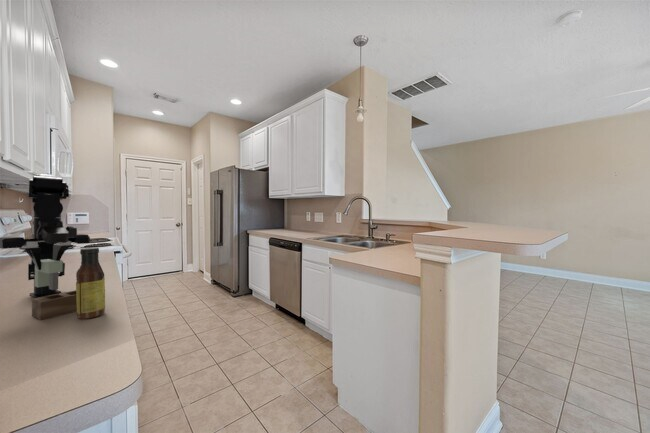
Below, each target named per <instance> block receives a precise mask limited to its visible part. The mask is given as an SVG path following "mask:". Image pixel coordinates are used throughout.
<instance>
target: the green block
mask: <svg viewBox="0 0 650 433" xmlns="http://www.w3.org/2000/svg"><path fill="white" fill-rule="evenodd" d="M63 263H64V261H63V262H61V261H56V260H51V259H44V260H41V270H38V269H37V268H36V266H35V287H44V286H49V289H51V290H56V289H57V290H59V276H58V273H60V272H62V270H63Z"/></svg>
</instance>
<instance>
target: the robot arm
mask: <svg viewBox="0 0 650 433" xmlns="http://www.w3.org/2000/svg"><path fill="white" fill-rule="evenodd" d="M28 180H29V181H28V198H29V199H31V201H32V202H31V203H32V205H33V208H32V209H33V221H32V225H33V234H32V235H31V236H32V238H24V237H23V236H9V237H7V236H5V237H0V249H19V250H21V251H22V250H23V251H25V252H26V253H27V255H28V256H29V257H30V259H31V262H28V266H27V267H28V270H27V271H28V273H27V274H28V275H27V276H28V277H27V281H31V280H33V292H29V293H28V294H29V295H30V296H31V297H33V298H39V297H44V296H49V295H54V294H59V293H62V291H61V290H59V289H56V290H51V289H49V286H44V287H35V266H36V268H37V269H38V270H41V260H44V259H51V260H56V261H61V262H63V270H62V272H58V277H63V276H65V274H66V273H65V270H66V268H65V267H66V263H65V262H64V261H63V259H62V257H63V255H64V254H65V252H66V251H67V250H68V249H69V248H73V246H74V245H73V244H72V243H74V244H75V243H76V244H78V245H81V244H91V243H90V242H91V238H90V236H89V235H88V234H83V233H78V230H77V226H74V225H73V226H72V225H69V226H66V227H65V226H64V223H63V221H62V213H63V210H64V207H63V204H62V202H61V201H62V200H67V198H69V197H70V191H69V189H70V188H69V185H68V184H67V181H64V180H63V178H62V177H58V176H57V175H55V174H46V173H37V174H36V175H34V176H32V178H30V179H28Z"/></svg>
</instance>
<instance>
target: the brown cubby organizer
mask: <svg viewBox="0 0 650 433" xmlns="http://www.w3.org/2000/svg"><path fill="white" fill-rule="evenodd" d="M73 312H74V313H75V312H77V301H76V289H75V290H70V291H65V292H61V293H57V294H52V295H47V296H41V297H33V298H32V299H31V316H32V318H33V317H34V318H35V319H37V320H39V321H42V320H46V319H51V318H55V317H57V316H62V315H67V314H70V313H73Z"/></svg>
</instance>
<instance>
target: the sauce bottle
mask: <svg viewBox="0 0 650 433" xmlns="http://www.w3.org/2000/svg"><path fill="white" fill-rule="evenodd" d="M79 250H80V251H79V252H80V255H81V259H80V260H81V262H80V266H79V268H78V269H77V271H76V272H75V273H76V274H75V276H76V282H75V290H76V301H77V311H76V314H77V316H76V317H77V318H78V319H82V320H84V319H85V320H86V319H87V320H88V319H93V318H96V317H99V316H102V315H104V314H105V311H106V289H105V288H106V286H105V284H106V283H105V282H106V281H105V272H104V271H103V268H102V265H101V264H100V261H99V253H100V249H99V247H83V248H81V249H79Z"/></svg>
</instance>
